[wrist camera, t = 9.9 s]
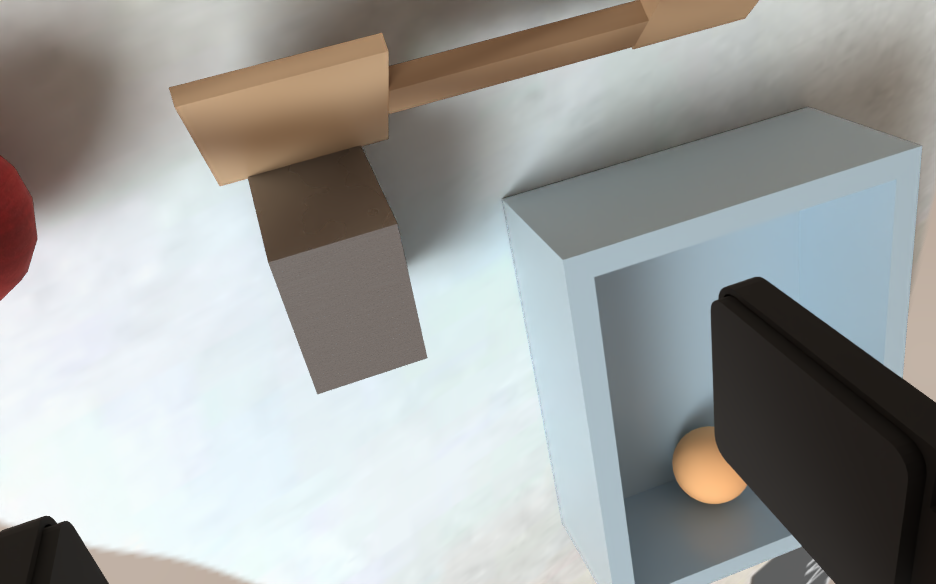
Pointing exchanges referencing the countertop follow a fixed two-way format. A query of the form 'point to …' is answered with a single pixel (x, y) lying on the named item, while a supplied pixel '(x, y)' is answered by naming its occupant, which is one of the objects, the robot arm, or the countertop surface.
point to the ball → (705, 468)
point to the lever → (399, 83)
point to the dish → (696, 317)
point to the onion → (14, 228)
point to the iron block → (339, 267)
